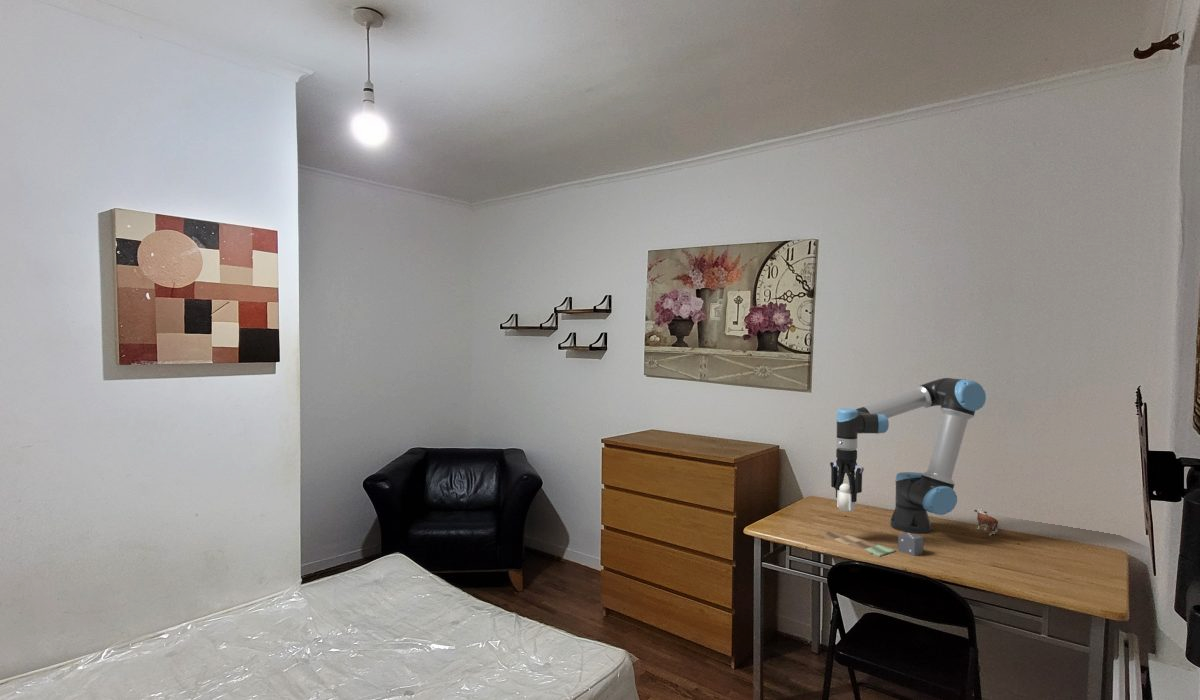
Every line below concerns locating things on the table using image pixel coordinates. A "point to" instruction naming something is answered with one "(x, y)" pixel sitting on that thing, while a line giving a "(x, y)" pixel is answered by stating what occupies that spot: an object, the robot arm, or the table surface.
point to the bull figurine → (986, 521)
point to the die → (910, 544)
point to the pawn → (844, 497)
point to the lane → (858, 543)
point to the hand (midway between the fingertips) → (845, 508)
